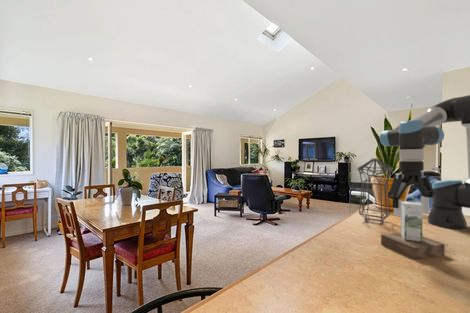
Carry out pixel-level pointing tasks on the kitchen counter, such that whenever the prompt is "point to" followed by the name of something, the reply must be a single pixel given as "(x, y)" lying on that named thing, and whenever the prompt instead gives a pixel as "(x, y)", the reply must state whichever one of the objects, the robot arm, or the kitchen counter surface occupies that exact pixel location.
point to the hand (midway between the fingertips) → (411, 214)
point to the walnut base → (412, 246)
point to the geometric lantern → (374, 184)
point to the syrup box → (412, 221)
